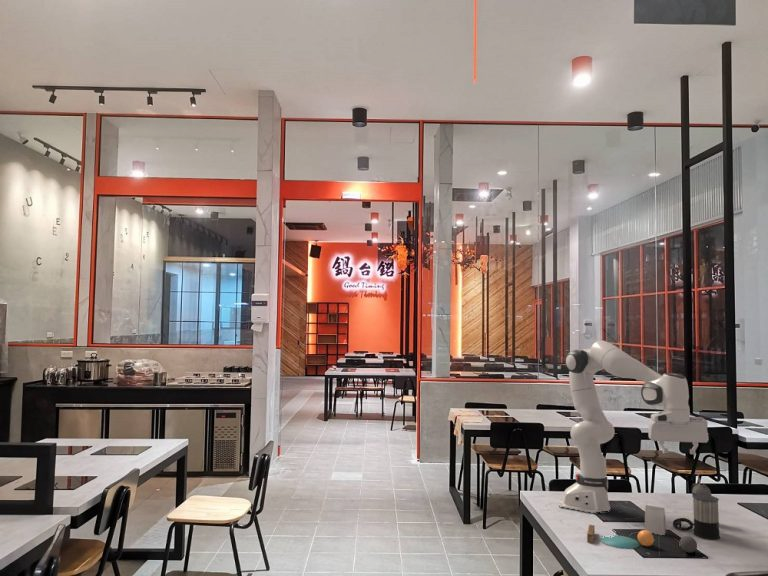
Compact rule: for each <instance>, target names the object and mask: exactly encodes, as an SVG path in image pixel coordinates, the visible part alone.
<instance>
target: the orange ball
mask: <svg viewBox="0 0 768 576" xmlns="http://www.w3.org/2000/svg"><path fill="white" fill-rule="evenodd" d="M637 541H638V542H639V543H640V544H641V545H642V546H644V547H651V546H652V545H653V544H654V542H655V538H654V534H652V533H650V532H649V531H647V530H645V529H641V530H640V531H639V532H638V533H637Z"/></svg>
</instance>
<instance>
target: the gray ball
mask: <svg viewBox="0 0 768 576" xmlns="http://www.w3.org/2000/svg"><path fill="white" fill-rule="evenodd" d="M679 546H680V547H681V549H682V550H683V551H685V552H686V553H688V554H689V553H690V554H692V553H694V552H696V550H697V549H698V543H697V540H696V539H694V537H692V536H691V535H685V536H683V537H681V538H680V540H679Z"/></svg>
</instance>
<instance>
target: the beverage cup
mask: <svg viewBox="0 0 768 576" xmlns="http://www.w3.org/2000/svg"><path fill="white" fill-rule="evenodd" d="M696 474H697V480H698V481H697V482H698V483H697V484H694V486H693V487H692V491H691V496H692V495H695V494H703V495H710V496H713V495H712V492H711V489H710V488H709V486H707V484H703V483H701V481H700V475H699V474H700V473H698V472H697V473H696Z"/></svg>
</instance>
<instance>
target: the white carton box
mask: <svg viewBox="0 0 768 576" xmlns="http://www.w3.org/2000/svg"><path fill="white" fill-rule="evenodd" d="M644 507H645V509H644V530H647V531H649V532H650V533H651V534H652V533H654V534H653V535H657V534H658V536H662V535H664V536H665V535H666V534H665V533H666V532H667V531H666V527H667V526H666V514H665V508H664V507H658V506H654V505H648V504H646V505H645V506H644Z"/></svg>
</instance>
